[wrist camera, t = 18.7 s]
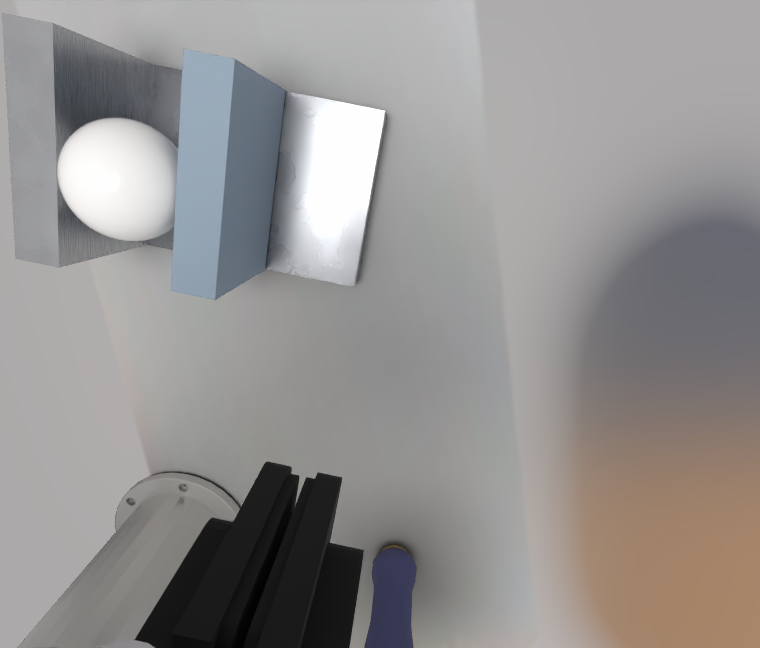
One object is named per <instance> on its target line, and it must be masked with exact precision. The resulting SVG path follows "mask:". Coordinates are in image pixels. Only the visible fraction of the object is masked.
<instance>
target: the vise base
mask: <svg viewBox="0 0 760 648" xmlns="http://www.w3.org/2000/svg"><path fill="white" fill-rule="evenodd" d="M2 23H3V41H4V59H5V77H6V93H7V112H8V128H9V129H8V130H9V148H10V166H11V184H12V202H13V220H14V237H15V256H16V259H20V260H25V261H31V262H35V263H40V264H44V265H50V266H54V267H63V266H67V265H71V264H75V263H79V262H83V261H87V260H91V259H94V258H98V257H102V256H106V255H110V254H114V253H118V252H122V251H126V250H130V249H133V248H137V247H141V246H145V245H152V246H157V247H162V248H167V249H172V250H173V242H174V228H172V229H171V230H170V231H168V232H167V233H165V234H163V235H161V236H159V237H156V238H153V239H149V240H144V241H124V240H118V239H114V238H110V237H108V236H105V235H103V234H100V233H98V232H96V231H95V230H93V229H91V228H90V227H88V226H87V225H86V224H84V223H83V222H82V221H81V220H80V219H79V218H78V217H77V216H76V215H75V214H74V213H73V212H72V210H71V209H70V208H69V206H68V205H67V203H66V201H65V200H64V198H63V195H62V193H61V190H60V187H59V183H58V177H57V164H58V158H59V155H60V152H61V150H62V147H63V145H64V144H65V142H66V141H67V139H68V138H69V137H70V136H71V135H72V134H73V133H74V132H75V131H76V130H77V129H79V128H80V127H82V126H83V125H85V124H87V123H89V122H92V121H95V120H98V119H103V118H114V117H117V118H127V119H132V120H136V121H139V122H142V123H145V124H147V125H149V126H151V127H153V128H155V129H157V130H158V131H160V132H161V133H162V134H164V135H165V136H166V137H167V138H168V139H170V140H171V141H172V142H173V144H174V145H175V146H176V147H177V148H178V143H179V124H180V104H181V84H182V70H177V69H172V68H167V67H162V66H157V65H153V64H151V63H148V62H146V61H143V60H141V59H139V58H136V57H134V56H131V55H129V54H126V53H124V52H122V51H119V50H117V49H114V48H112V47H110V46H107V45H105V44H102V43H100V42H97V41H95V40H93V39H90V38H88V37H85V36H83V35H80V34H78V33H76V32H73V31H71V30H68V29H66V28H64V27H61V26H59V25H56V24H54V23H50V22H45V21H40V20H35V19H30V18H25V17H20V16H15V15H10V14H5V13H2ZM386 119H387V113H386V111H384V110H379V109H374V108H369V107H364V106H359V105H353V104H348V103H343V102H338V101H333V100H328V99H323V98H318V97H313V96H308V95H303V94H298V93H293V92H288V91H286V92H285V100H284V109H283V118H282V127H281V135H280V144H279V153H278V161H277V170H276V179H275V188H274V196H273V205H272V214H271V223H270V231H269V240H268V249H267V257H266V266H265V269H269V270H273V271H278V272H283V273H288V274H293V275H298V276H303V277H307V278H312V279H317V280H322V281H327V282H332V283H337V284H341V285H346V286H351V287H354V286H355V284H356V283H357V281H358V275H359V270H360V264H361V259H362V253H363V247H364V242H365V236H366V231H367V225H368V220H369V214H370V208H371V203H372V197H373V192H374V186H375V180H376V175H377V169H378V164H379V158H380V153H381V147H382V141H383V136H384V130H385V125H386Z"/></svg>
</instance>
